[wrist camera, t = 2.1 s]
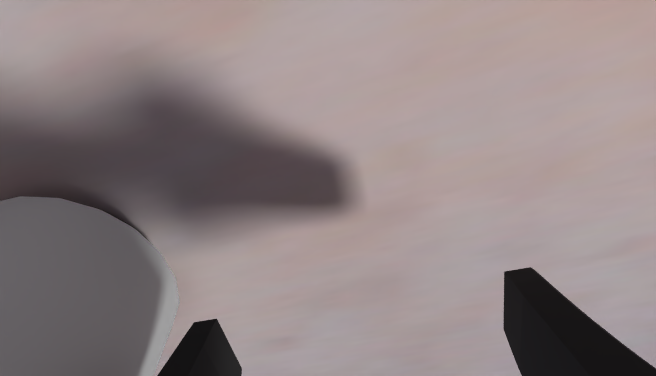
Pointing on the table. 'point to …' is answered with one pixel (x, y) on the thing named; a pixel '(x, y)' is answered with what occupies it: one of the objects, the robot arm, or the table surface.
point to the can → (79, 292)
